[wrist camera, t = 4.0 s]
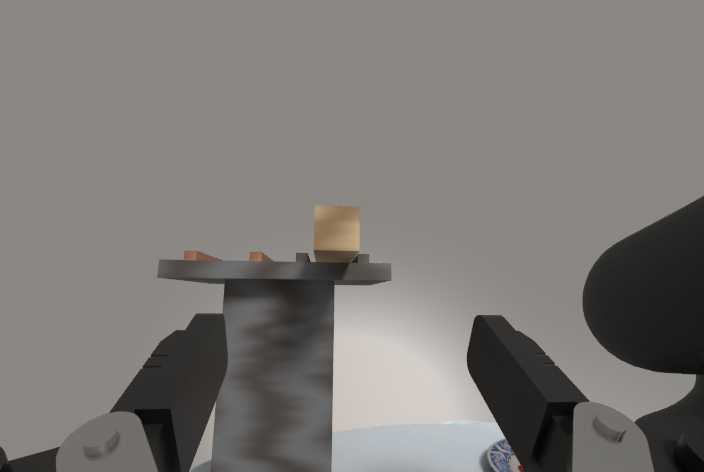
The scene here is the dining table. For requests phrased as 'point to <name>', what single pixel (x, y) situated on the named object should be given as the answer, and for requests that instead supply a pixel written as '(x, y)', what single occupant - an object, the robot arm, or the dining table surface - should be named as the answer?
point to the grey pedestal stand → (275, 356)
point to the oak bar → (336, 233)
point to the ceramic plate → (503, 457)
